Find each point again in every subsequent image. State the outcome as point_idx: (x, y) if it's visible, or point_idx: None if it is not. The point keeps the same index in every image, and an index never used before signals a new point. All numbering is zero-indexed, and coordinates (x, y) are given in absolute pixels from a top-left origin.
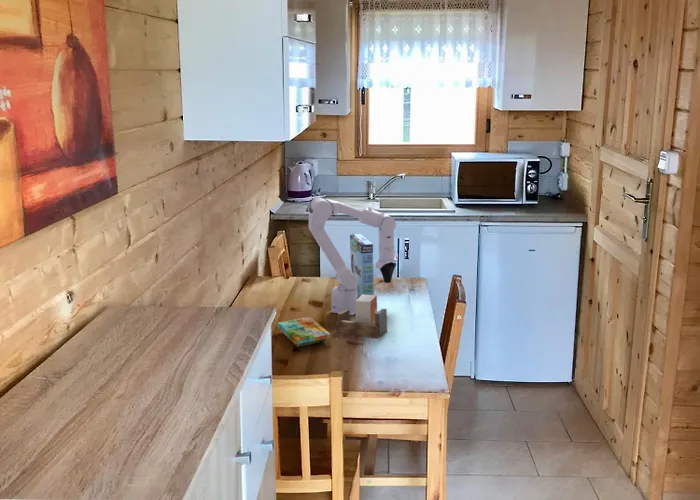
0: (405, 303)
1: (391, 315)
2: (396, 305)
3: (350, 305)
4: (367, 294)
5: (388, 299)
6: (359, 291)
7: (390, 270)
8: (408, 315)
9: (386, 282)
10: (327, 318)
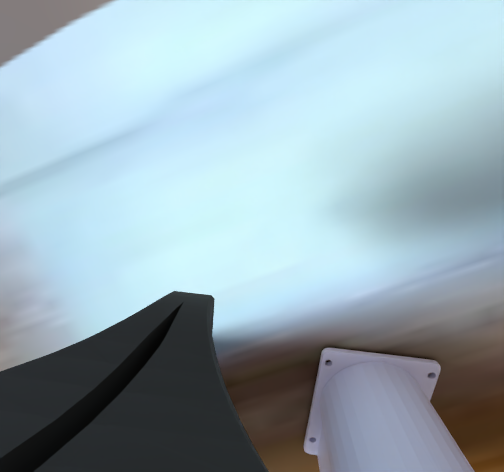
0: (140, 158)
1: (390, 158)
2: (196, 198)
3: (438, 415)
4: None
5: (114, 279)
6: None
7: (211, 415)
8: (368, 42)
9: (212, 328)
10: (491, 445)
